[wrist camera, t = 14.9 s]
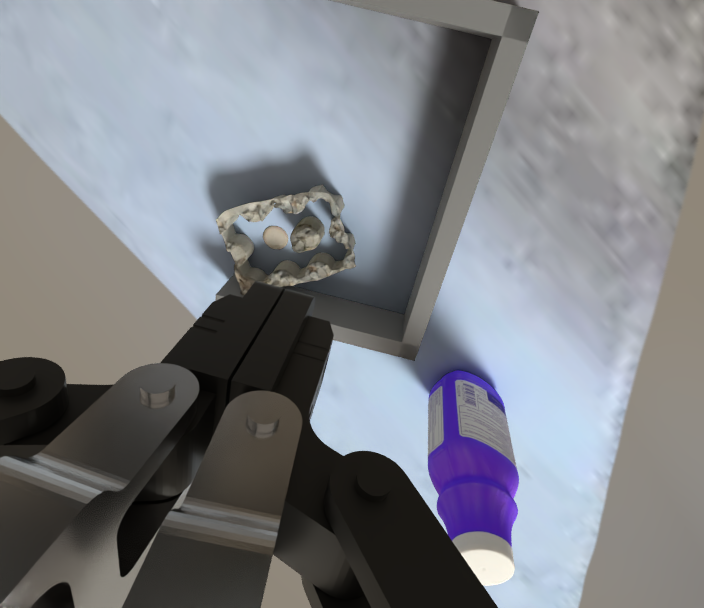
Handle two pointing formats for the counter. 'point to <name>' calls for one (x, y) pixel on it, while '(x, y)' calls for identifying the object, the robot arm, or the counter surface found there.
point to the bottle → (473, 472)
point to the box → (479, 130)
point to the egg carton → (276, 238)
